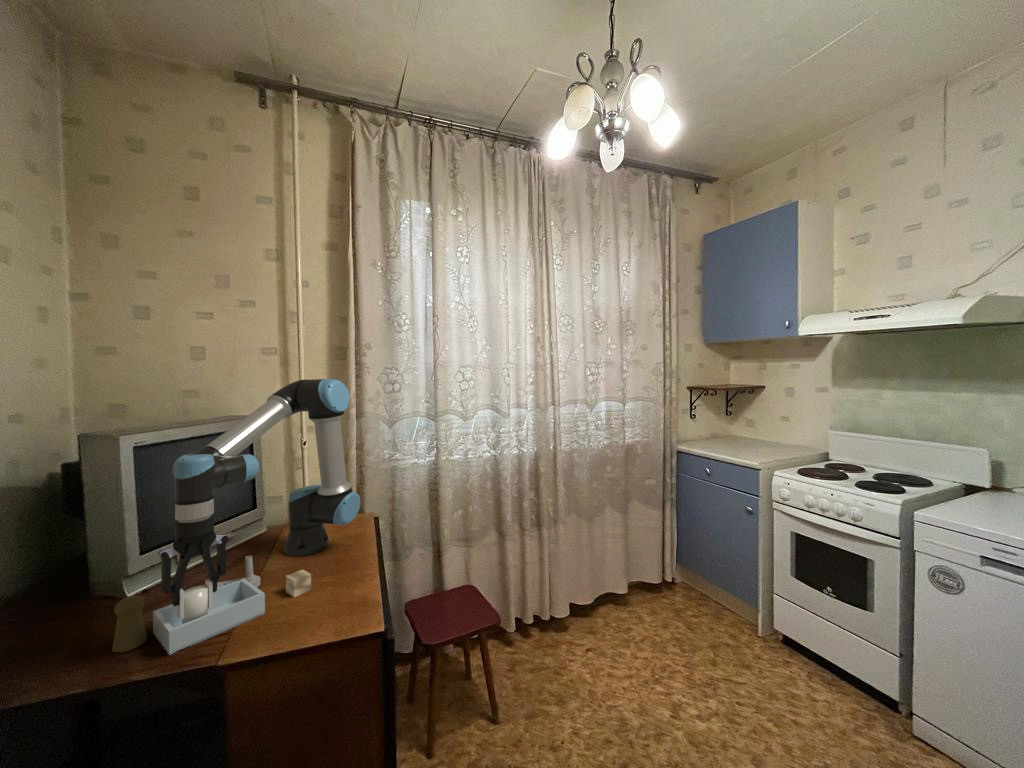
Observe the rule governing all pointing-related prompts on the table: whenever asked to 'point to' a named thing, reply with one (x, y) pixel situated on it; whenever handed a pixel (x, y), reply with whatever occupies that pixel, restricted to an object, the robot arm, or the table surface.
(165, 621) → the tote
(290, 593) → the beech cube
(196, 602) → the white egg
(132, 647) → the cork
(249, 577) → the electronic device
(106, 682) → the table surface
